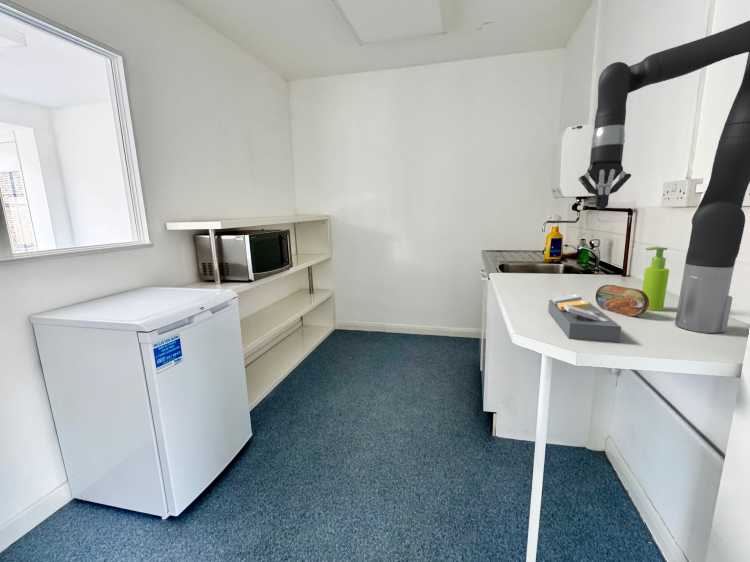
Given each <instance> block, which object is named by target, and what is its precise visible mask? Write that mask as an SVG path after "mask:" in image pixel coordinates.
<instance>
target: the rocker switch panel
mask: <svg viewBox="0 0 750 562" xmlns="http://www.w3.org/2000/svg"><path fill="white" fill-rule="evenodd" d="M587 302H588V303H589V305H590V307H587V308H580V309H583V310H587V311H590V312H593V313H594V314H596V315H597V316H598V319H597V320H594V319H590V318H587V317H584V316H580V315H577V314H574V313H570V312H568V311H567V310H560V309H559V308H558V306H557V304H556V305H555V304H554V303H553V301H552V299H549V300H548V309H547V313H548V314H549V316H551V318H552V320H554V321H555V323H556V324H557V325H558V327H559V328H560V330H562V331H561V332H563V333H564V335H565V336H566V337H567V338H568V339H571V340H584V341H585V340H586V341H594V342H596V341H597V342H608V343H620V337H621V329H622V326H621V325H619V324H618V322H616V321H614V320H613V319H612V318H611V317H610V316H608V315H606V314H605V313H604V312H603V311H602V310H600V309H599V308H597V307H596V306H595V305H593V304H592V303H591V302H589V301H587Z"/></svg>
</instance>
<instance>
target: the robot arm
mask: <svg viewBox="0 0 750 562" xmlns="http://www.w3.org/2000/svg"><path fill="white" fill-rule="evenodd" d="M746 53H748V55H747V59H746V63H745V68H744V73H743V76H742V81H741V83H740V86H739V88H738V91H737V94H736V96H735V97H734V100H733V101H732V105H731V108H730V109H729V112H728V115H727V118H726V120H725V122H724V125H723V128H722V131H721V134H720V137H719V140H718V144H717V148H716V151H715V155H714V159H713V163H712V168H711V172H710V173H711V174H710V177H709V178H710V179H709V182H708V185H707V187H706V189H705V191H704V195H703V197H702V198H701V201H700V203H699V205H698V207H697V209H696V210H695V212H694V213H693V215H692V219H691V231H690V239H689V243H688V247H687V248H688V249H687V252H686V257H685V263H684V268H683V275H682V280H681V285H680V293H679V298H678V304H677V310H676V316H675V321H674V325H675V326H676V327H678V328H681V329H684V330H688V331H691V332H696V333H704V334H705V333H706V334H718V333H726V332H727V328H728V322H729V317H730V313H731V308H732V304H733V303H732V302H733V296H731V295H729V293H730V289H731V284H732V281H733V280H732V279H733V274H734V270H735V269H734V268H735V265H736V261H737V257H738V255H739V253H740V248H741V244H742V239H743V234H744V230H745V224H746V215H745V212H744V211H743V209H742V208H743V203H744V200H745V196H746V193H747V189H748V186H749V185H750V20H746V21H745V22H742V23H739V24H737V25H735V26H732V27H730V28H727V29H724V30H722V31H719V32H716V33H714V34H710V35H707V36H705V37H702V38H699V39H696V40H693V41H690V42H686V43H683V44H680V45H677V46H674V47H673V46H672V47H671V48H667V49H664V50H662V51H659V52H656V53H653V54H650V55H648V56H646V57H645V58H643V60H641V61H639V62H637V63H635V64H634V63H633V64H632V65H628V64H627V63H626V62H622V61H615V62H612V63H610V64H609V65H608V66H606V67H605V68H604V69H603V70H602V72H601V73H600V75H599V78H598V83H597V90H598V91H597V106H596V107H597V108H596V111H595V115H594V116H595V118H594V126H593V127H594V128H593V134H592V138H591V148H590V149H591V150H590V158H589V167H588V168H587V171H586V172H585V173H584V174H582V175H581V176H579V177H578V181H579V182H580V184H582V186H583V187H584V189H585V190H586V191H587V193H588V194H592V195H594V196H595V202H594V206H595V207H596V209H597V210H605V209H606V208H607V207H608V205H609V198H610V195H611V194H614V193H617V192H618V191H619V190H620V189H621V188H622V187H623V185H624V184H625V183H626V182H627V181H628V180H629V179H630V178H631V177H632V174H631V173H628V172H626V171H624V167H623V164H622V162H623V154H624V144H625V142H626V141H625V140H626V139H625V136H626V134H625V133H626V131H625V124H626V117H627V101H628V95H629V94H630V93H632V92H635V91H637V90H639V89H642V88H644V87H648V86H650V85H654V84H658V83H662V82H666V81H669V80H673V79H676V78H679V77H683V76H686V75H688V74H691V73H693V72H696V71H699V70H700V69H701V70H702V69H704V68H706V67H708V66H711V65H713V64H716V63H717V62H718V63H719V62H720V61H723V60H726V59H727V60H728V59H729V58H732V57H735V56H738V55H739V56H740V55H741V54H746ZM616 179H618V180H617V181H616ZM590 180H592V181H593V182H594V185H593V184H592V183H591V182H590ZM614 181H616V182H615V184H613V183H614Z"/></svg>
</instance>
